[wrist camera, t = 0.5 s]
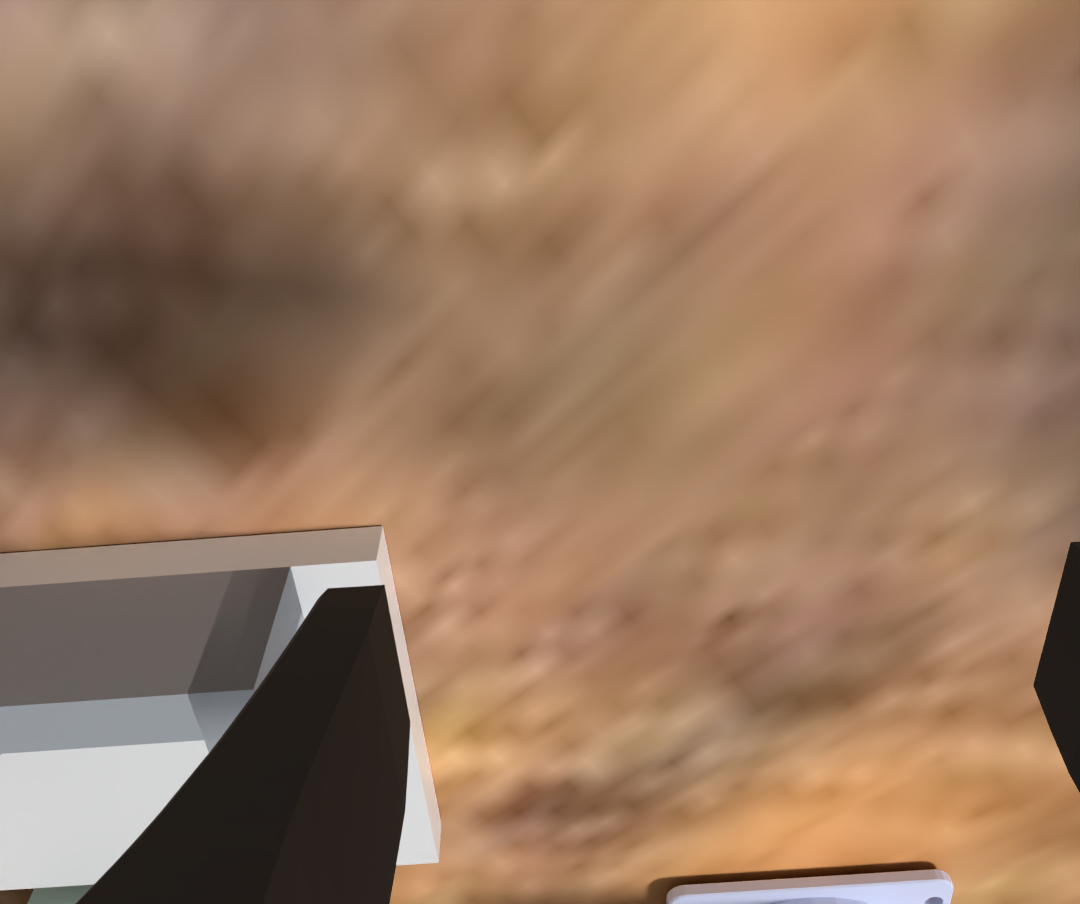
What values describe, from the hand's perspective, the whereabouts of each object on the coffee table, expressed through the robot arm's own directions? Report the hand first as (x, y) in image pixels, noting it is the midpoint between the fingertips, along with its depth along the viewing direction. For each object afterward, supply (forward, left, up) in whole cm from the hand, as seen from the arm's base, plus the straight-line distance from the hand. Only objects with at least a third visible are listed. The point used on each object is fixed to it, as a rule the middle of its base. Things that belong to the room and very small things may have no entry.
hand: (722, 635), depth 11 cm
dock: (-10, +12, -10) cm, 18 cm away
